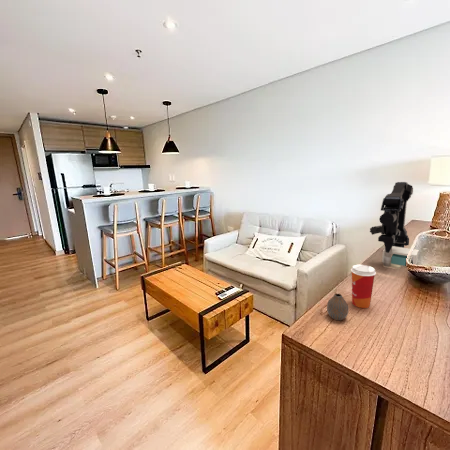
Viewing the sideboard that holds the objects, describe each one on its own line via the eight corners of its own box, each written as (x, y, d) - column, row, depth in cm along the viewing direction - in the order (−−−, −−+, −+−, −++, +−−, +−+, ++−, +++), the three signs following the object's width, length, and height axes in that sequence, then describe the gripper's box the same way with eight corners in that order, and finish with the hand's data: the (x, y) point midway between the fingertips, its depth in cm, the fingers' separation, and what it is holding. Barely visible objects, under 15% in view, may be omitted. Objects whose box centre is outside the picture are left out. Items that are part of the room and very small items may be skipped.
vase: (322, 315, 88) (323, 293, 87) (336, 309, 91) (337, 288, 89) (338, 325, 82) (339, 302, 80) (352, 319, 85) (353, 296, 83)
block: (393, 259, 131) (393, 252, 130) (406, 262, 127) (407, 255, 126) (391, 263, 127) (391, 256, 126) (405, 265, 123) (405, 258, 122)
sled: (388, 260, 134) (390, 239, 131) (409, 263, 127) (411, 242, 125) (382, 268, 124) (384, 246, 121) (405, 272, 117) (407, 249, 115)
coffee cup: (353, 296, 100) (355, 262, 96) (376, 303, 94) (379, 267, 91) (345, 305, 94) (347, 268, 91) (369, 312, 88) (372, 274, 85)
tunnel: (385, 259, 136) (386, 245, 135) (417, 264, 127) (418, 249, 125) (381, 264, 129) (382, 250, 128) (414, 270, 120) (416, 255, 118)
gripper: (376, 216, 131) (374, 244, 134) (367, 223, 118) (365, 253, 121) (401, 218, 124) (398, 247, 127) (394, 225, 110) (391, 258, 114)
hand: (388, 251), depth 122 cm, fingers closed on sled, 3 cm apart
